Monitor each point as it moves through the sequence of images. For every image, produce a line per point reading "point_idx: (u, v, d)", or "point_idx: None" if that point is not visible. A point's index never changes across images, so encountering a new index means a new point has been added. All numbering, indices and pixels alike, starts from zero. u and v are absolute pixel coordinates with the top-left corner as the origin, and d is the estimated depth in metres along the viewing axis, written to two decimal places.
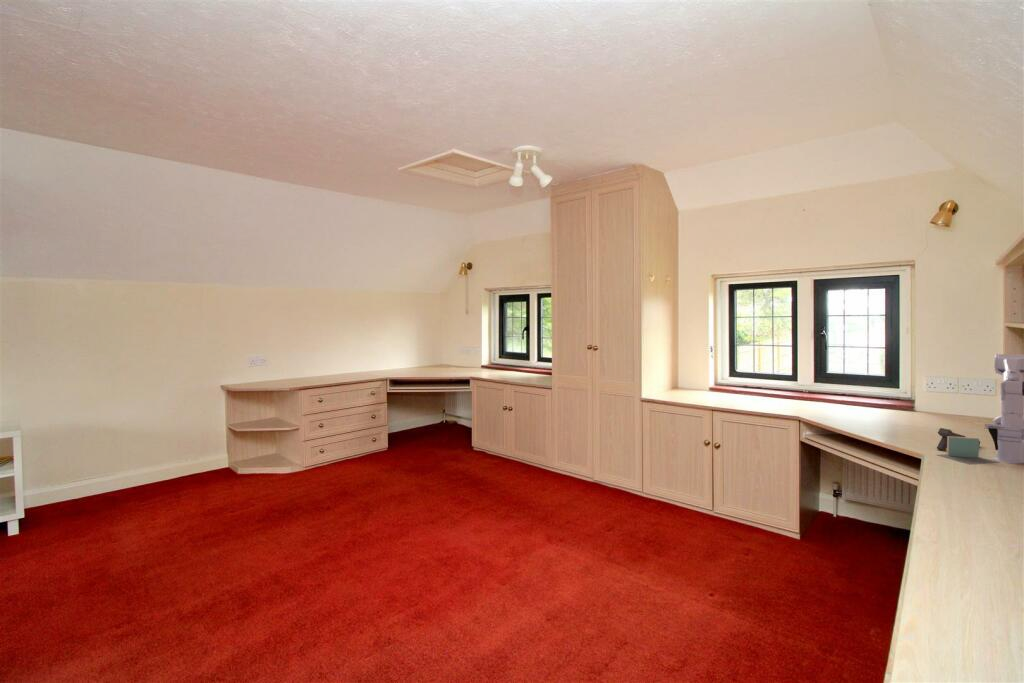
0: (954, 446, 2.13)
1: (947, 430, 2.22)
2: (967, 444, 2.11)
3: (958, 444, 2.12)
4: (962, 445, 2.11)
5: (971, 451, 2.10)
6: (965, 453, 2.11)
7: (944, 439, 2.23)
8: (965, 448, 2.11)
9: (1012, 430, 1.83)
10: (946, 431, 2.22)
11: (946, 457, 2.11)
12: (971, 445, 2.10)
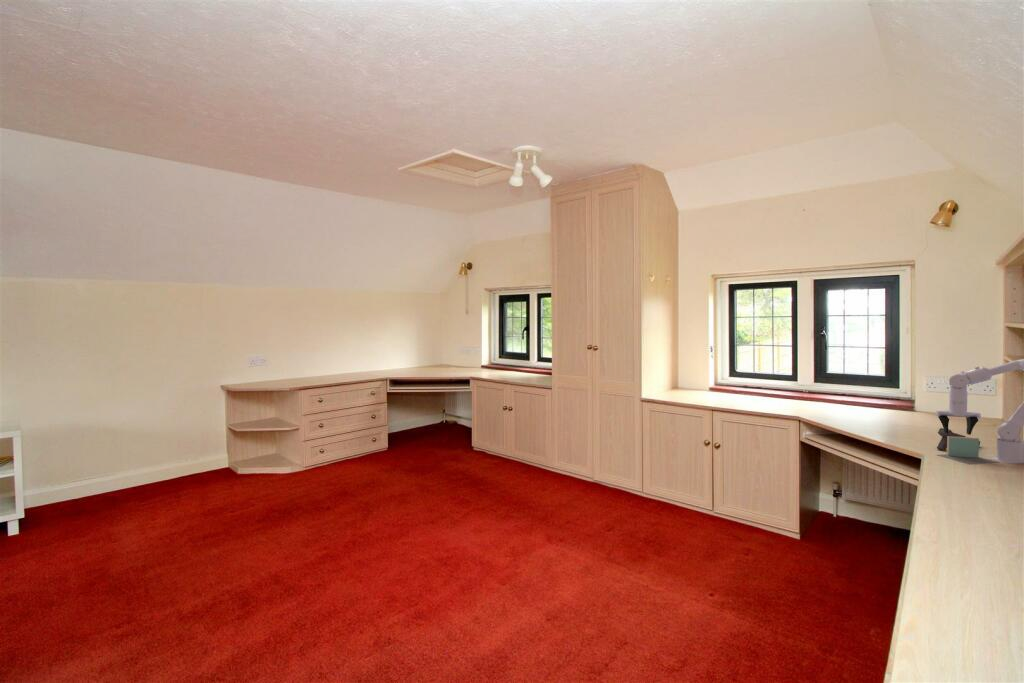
0: (954, 446, 2.13)
1: None
2: (967, 444, 2.11)
3: (958, 444, 2.12)
4: (962, 445, 2.11)
5: (971, 451, 2.10)
6: (965, 453, 2.11)
7: (944, 439, 2.23)
8: (965, 448, 2.11)
9: None
10: None
11: (946, 457, 2.11)
12: (971, 445, 2.10)
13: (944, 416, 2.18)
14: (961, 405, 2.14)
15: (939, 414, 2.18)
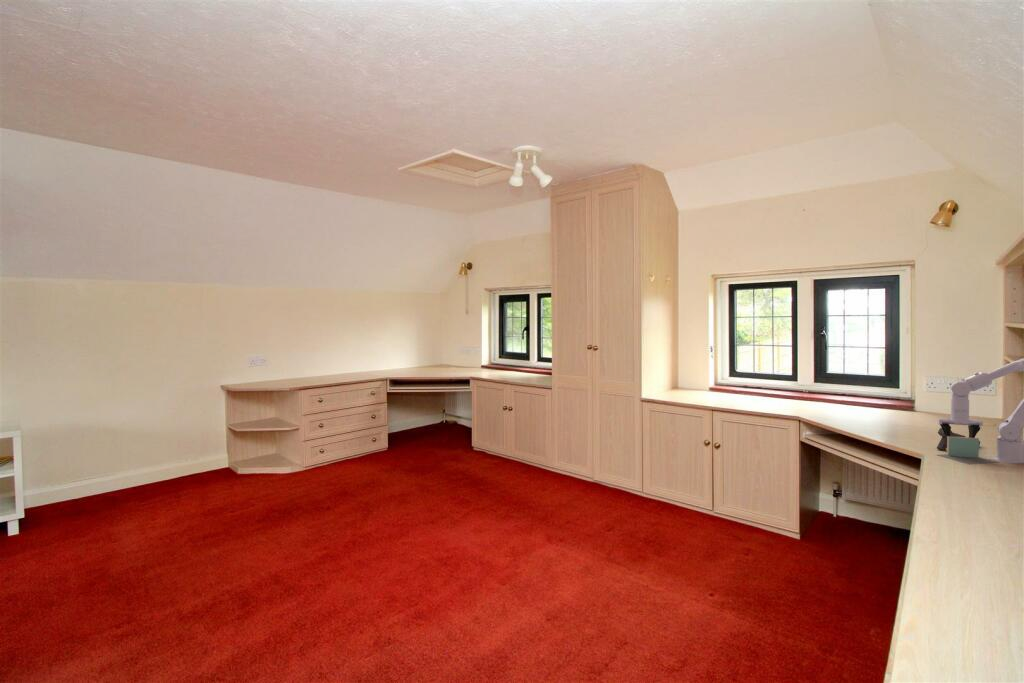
0: (954, 446, 2.13)
1: None
2: (967, 444, 2.11)
3: (958, 444, 2.12)
4: (962, 445, 2.11)
5: (971, 451, 2.10)
6: (965, 453, 2.11)
7: (944, 439, 2.23)
8: (965, 448, 2.11)
9: None
10: None
11: (946, 457, 2.11)
12: (971, 445, 2.10)
13: (946, 424, 2.16)
14: (963, 413, 2.12)
15: (941, 422, 2.17)
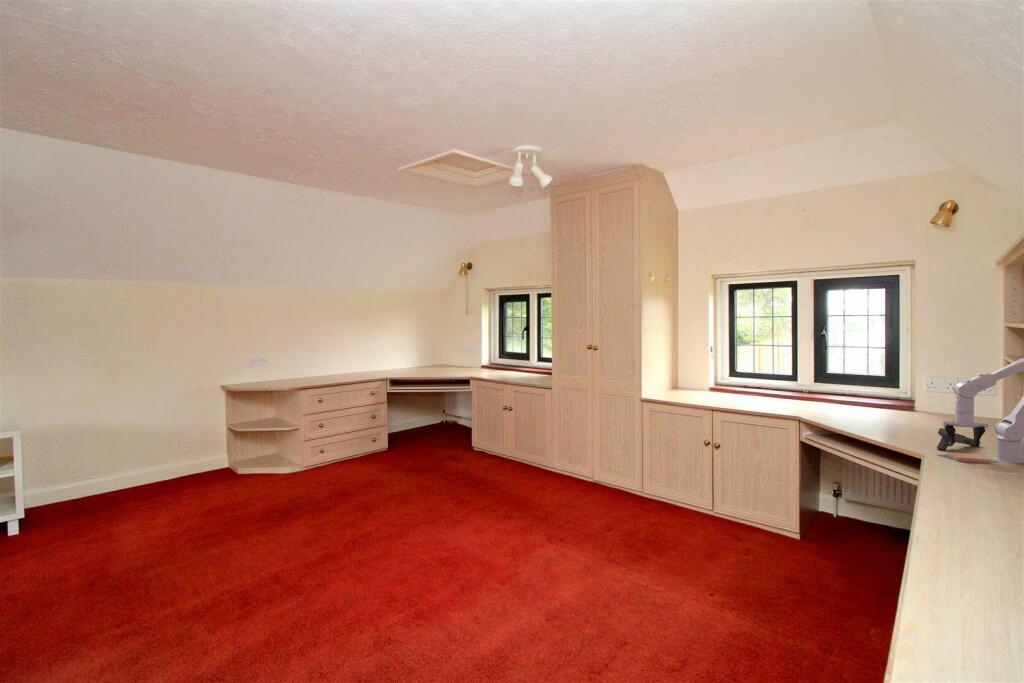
0: None
1: None
2: None
3: None
4: None
5: None
6: None
7: (944, 439, 2.23)
8: None
9: None
10: (946, 431, 2.22)
11: (946, 457, 2.11)
12: None
13: (950, 426, 2.12)
14: (968, 415, 2.08)
15: (945, 424, 2.12)
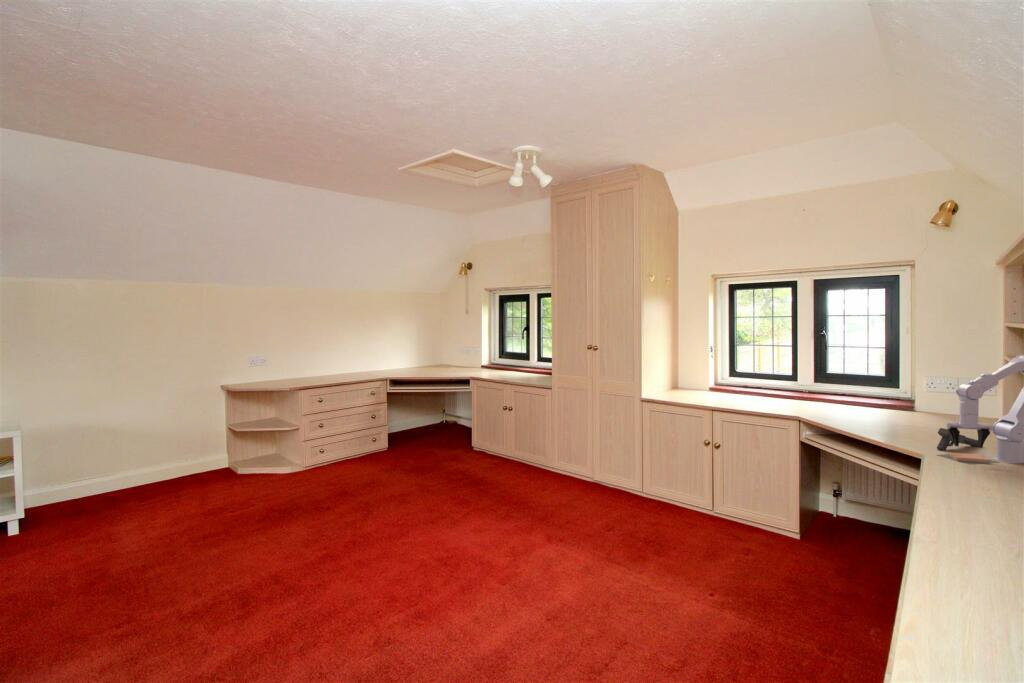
0: None
1: (947, 430, 2.22)
2: None
3: None
4: None
5: None
6: None
7: (944, 439, 2.23)
8: None
9: (967, 427, 2.07)
10: (946, 430, 2.22)
11: (946, 457, 2.11)
12: None
13: (954, 428, 2.08)
14: (972, 417, 2.04)
15: (949, 426, 2.09)
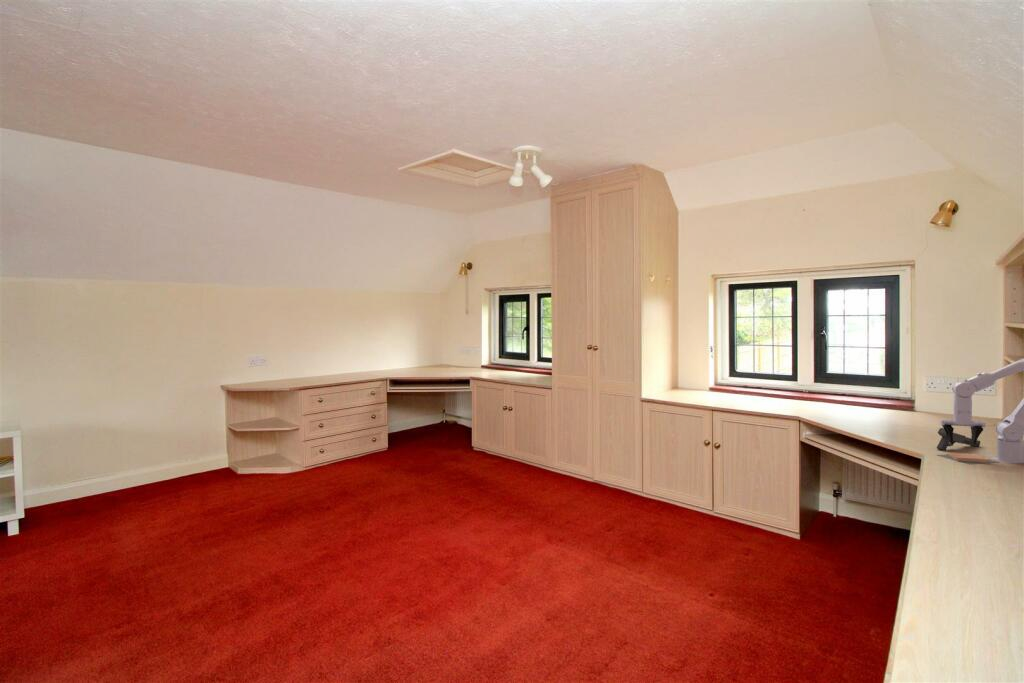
0: None
1: None
2: None
3: None
4: None
5: None
6: None
7: (944, 439, 2.23)
8: None
9: None
10: None
11: (946, 457, 2.11)
12: None
13: (948, 425, 2.14)
14: (966, 414, 2.10)
15: (943, 423, 2.14)
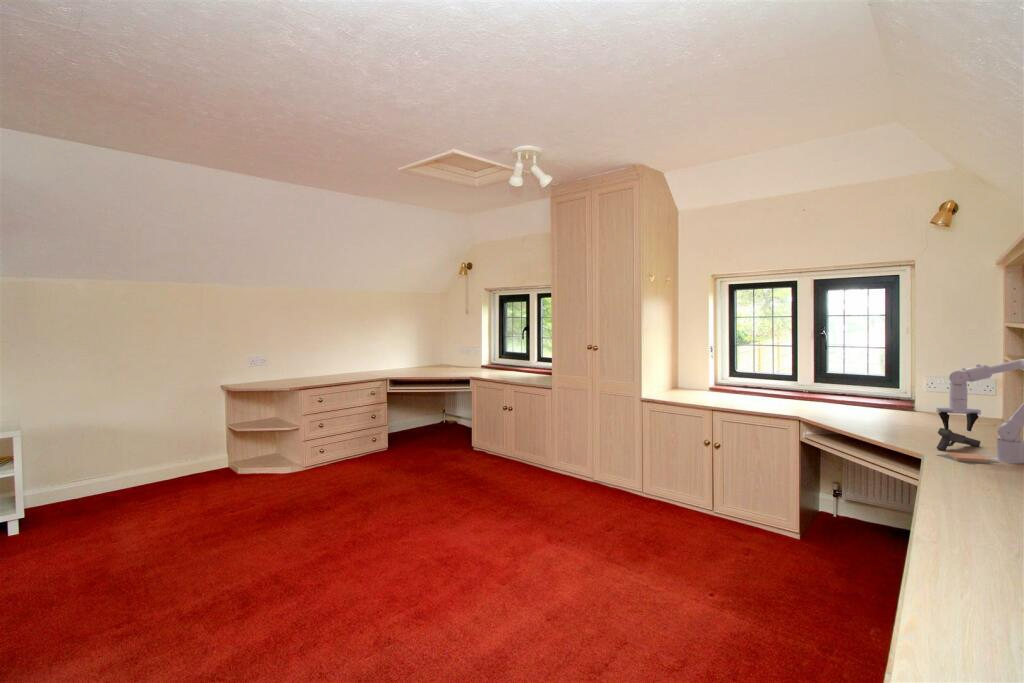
0: None
1: (947, 430, 2.22)
2: None
3: None
4: None
5: None
6: None
7: (944, 439, 2.23)
8: None
9: (957, 412, 2.17)
10: (946, 430, 2.22)
11: (946, 457, 2.11)
12: None
13: (944, 413, 2.18)
14: (961, 402, 2.14)
15: (939, 411, 2.18)
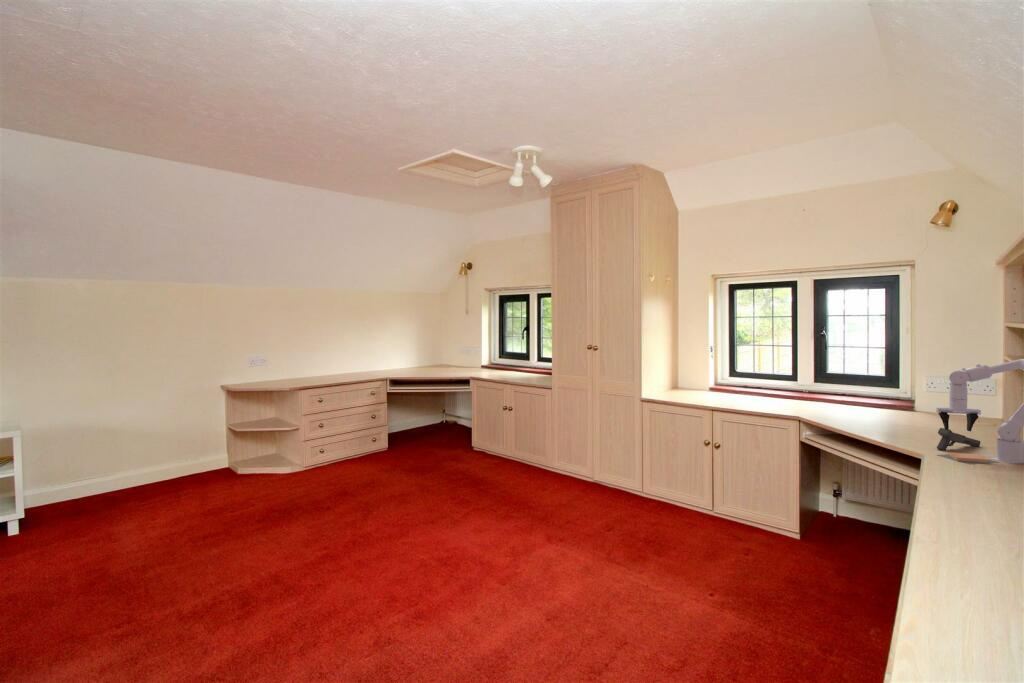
0: None
1: (947, 430, 2.22)
2: None
3: None
4: None
5: None
6: None
7: (944, 439, 2.23)
8: None
9: (957, 412, 2.17)
10: (946, 430, 2.22)
11: (946, 457, 2.11)
12: None
13: (944, 413, 2.18)
14: (961, 402, 2.14)
15: (939, 411, 2.18)
